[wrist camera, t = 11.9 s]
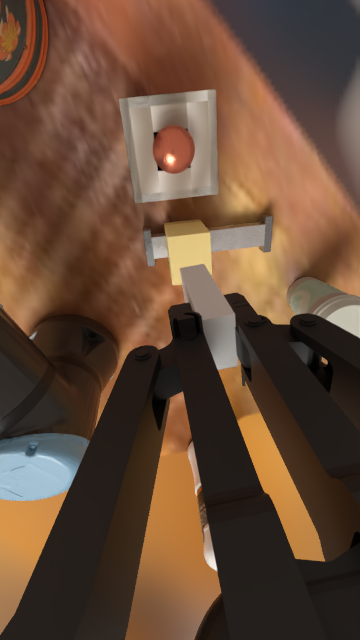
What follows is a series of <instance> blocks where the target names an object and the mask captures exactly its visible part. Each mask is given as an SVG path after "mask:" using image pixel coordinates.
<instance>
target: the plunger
mask: <svg viewBox="0 0 360 640" xmlns="http://www.w3.org/2000/svg"><path fill="white" fill-rule="evenodd" d="M194 153H195V146H194V141H193V139H192V137H191V135H190V133H189V132H188V131H187V130H186V129H184V128H183V127H181V126H178V125H169V126H166V127H164V128H163V129H161V130H160V131H159V132H158V134H157V135H156V137H155V139H154V142H153V156H154V159H155V162H156V163H157V165H158V166H159V167H160V168H161V169H162V170H163V171H165V172H167V173H171V174H177V173H181V172H183V171H184V170H186V169H187V168H188V167H189V166H190V164H191V163H192V161H193V158H194Z"/></svg>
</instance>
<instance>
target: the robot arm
mask: <svg viewBox="0 0 360 640" xmlns="http://www.w3.org/2000/svg"><path fill="white" fill-rule="evenodd" d="M180 274H181V280H182V286H183V292H184V299H185V303H184V304H179V305H173V306H171V307H170V309H169V310H168V314H169V319H170V326H171V331H172V336H173V339H172V341H171V343H170V344H169V345H167V346H166V347H164V348H162V349H160V350H158V349H157V348H156V347H154V346H148V345H145V346H140V347H137V348H135V349H133V350H132V351H131V352H129V354H128V355H127V357H126V359H125V362H124V364H123V366H122V368H121V371H120V373H119V375H118V378H117V380H116V382H115V385H114V387H113V389H112V391H111V394H110V396H109V398H108V401H107V403H106V405H105V408H104V410H103V412H102V414H101V417H100V419H99V421H98V424H97V426H96V428H95V425H96V419H97V414H98V408H99V402H100V396H101V392H102V391H103V390H104V388H105V387H106V385H107V384H108V382H109V381H110V380H111V379H112V377H113V375H114V374H115V371H116V368H117V364H118V356H119V352H118V347H117V344H116V341H115V339H114V338H113V336H112V335H111V333H110V332H109V331H108V330H107V329H106V328H105V327H103V326H102V325H100V324H99V323H97V322H95V321H93V320H91V319H89V318H86V317H82V316H77V315H59V316H54V317H51V318H49V319H46V320H44V321H43V322H41V323H40V324H38V325H37V326H36V327H35V328H34V329H33V331H32V332H31V334H30V335H29V337H28V336H27V335H26V334H25V333H24V332H23V330H22V329H21V328H20V327H19V326H18V325H17V324H16V323H15V322H14V320H13V319H12V318H11V317H10V316H9V315H8V314H7V313H6V311H5V310H4V309H3V306H2V305H1V304H0V499H4V500H12V501H30V500H38V499H44V498H49V497H52V496H55V495H58V494H60V493H62V492H65V491H66V490H68V489H69V491H68V493H67V495H66V498H65V500H64V502H63V504H62V507H61V509H60V511H59V514H58V516H57V518H56V520H55V523H54V525H53V527H52V530H51V532H50V534H49V537H48V539H47V541H46V543H45V546H44V548H43V550H42V553H41V555H40V557H39V560H38V562H37V564H36V567H35V569H34V571H33V573H32V576H31V578H30V580H29V583H28V585H27V587H26V589H25V592H24V594H23V597H22V599H21V601H20V603H19V606H18V608H17V610H16V613H15V615H14V616H13V617H12V619H11V620H10V622H9V623H8V625H7V626H6V628H5V629H4V631H3V632H2V634H1V635H0V640H125V636H126V632H127V627H128V622H129V617H130V611H131V606H132V601H133V596H134V590H135V585H136V579H137V574H138V569H139V564H140V558H141V553H142V547H143V542H144V537H145V531H146V526H147V521H148V516H149V511H150V504H151V500H152V495H153V489H154V484H155V479H156V474H157V468H158V463H159V458H160V452H161V447H162V442H163V436H164V431H165V426H166V420H167V415H168V410H169V405H170V397H172V396H174V395H176V394H178V393H180V392H182V391H183V393H184V398H185V404H186V409H187V414H188V419H189V425H190V430H191V435H192V440H193V445H194V451H195V456H196V461H197V466H198V472H199V477H200V482H201V487H202V492H203V498H204V503H205V509H206V514H207V519H208V524H209V530H210V535H211V540H212V545H213V551H214V556H215V561H216V566H217V572H218V577H219V582H220V587H221V592H222V593H221V594H220V595H219V596H218V597H217V598H216V600H215V601H214V602H213V603H212V605H211V607H210V608H209V610H208V611H207V613H206V614H205V616H204V618H203V620H202V622H201V624H200V626H199V629H198V631H197V634H196V636H195V640H360V338H359V337H357V336H355V335H353V334H352V333H350V332H348V331H346V330H344V329H342V328H341V327H339V326H337V325H335V324H333V323H331V322H330V321H328V320H326V319H324V318H322V317H320V316H318V315H315V314H310V313H306V314H305V313H303V314H298V315H295V316H293V317H292V318H291V320H290V325H277V324H273V323H272V322H271V321H270V320H269V319H268V318H267V317H265V316H262V315H258V314H257V313H256V312H255V311H254V309H253V308H252V307H251V305H250V304H249V303H248V301H247V300H246V299H245V297H244V296H243V295H240V294H238V293H232V294H227V295H223V294H222V292H221V290H220V289H219V287H218V286H217V284H216V282H215V281H214V279H213V277H212V276H211V274H210V273H209V271H208V269H207V268H206V266H205V265H204V264H199V265H194V266H188V267H183V268H180ZM322 357H323V358H325V359H326V360H327V361H328V364H327V365H326V364H324V363H323V362H321V360H322ZM238 358H239V360H240V362H241V372H242V385H243V386H245V381H246V383H247V385H248V387H249V389H250V391H251V393H252V395H253V397H254V400H255V402H256V404H257V406H258V408H259V410H260V412H261V414H262V416H263V419H264V421H265V423H266V425H267V427H268V429H269V431H270V433H271V435H272V437H273V439H274V442H275V444H276V446H277V448H278V450H279V452H280V454H281V457H282V459H283V461H284V463H285V465H286V467H287V469H288V471H289V473H290V476H291V478H292V480H293V482H294V484H295V486H296V488H297V490H298V492H299V494H300V497H301V499H302V501H303V503H304V505H305V507H306V509H307V511H308V513H309V516H310V518H311V520H312V522H313V524H314V526H315V528H316V530H317V533H318V535H319V539H320V542H321V547H322V552H323V555H324V558H325V562H322V561H311V560H301V559H295V557H294V554H293V552H292V549H291V547H290V544H289V542H288V539H287V537H286V534H285V531H284V529H283V526H282V524H281V521H280V519H279V516H278V514H277V511H276V509H275V506H274V504H273V502H272V500H271V498H270V496H269V495H268V494H267V493H265V492H264V491H263V489H262V486H261V484H260V481H259V479H258V476H257V473H256V471H255V468H254V465H253V463H252V460H251V457H250V455H249V452H248V449H247V447H246V444H245V441H244V439H243V436H242V433H241V431H240V428H239V426H238V423H237V420H236V417H235V415H234V412H233V409H232V407H231V404H230V401H229V399H228V396H227V393H226V391H225V388H224V385H223V383H222V380H221V377H220V375H219V372H218V370H221V369H226V368H230V367H235V366H238Z"/></svg>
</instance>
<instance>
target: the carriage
mask: <svg viewBox="0 0 360 640" xmlns="http://www.w3.org/2000/svg"><path fill="white" fill-rule="evenodd" d="M164 229H165V235H166V243H167V252H168V263H169V269H170V274H171V279H172V285H180V284H182V280H181V274H180V268H183V267H188V266H194V265H199V264H204V265H205V266H206V268H207V269H208V271H209V273H210V274H211V276H212V267H211V241H210V231H209V230H208V229H207V228H206V226H205V225H204V224H203V223H202V221H200V220H199V219H195V220H186V221H177V222H169V223H164Z"/></svg>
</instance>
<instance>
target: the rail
mask: <svg viewBox="0 0 360 640" xmlns="http://www.w3.org/2000/svg"><path fill="white" fill-rule="evenodd" d="M272 221H273V216H272V215H270V214H261V222H252V223H244V224H235V225H227V226H218V227H209V228H207V229H208V230H209V231H210V241H211V252H215V251H224V250H232V249H241V248H249V247H257V246H259V249H260V250H261V251H263V252H270V251H271V236H272ZM143 235H144V242H145V248H146V255H147V262H148V266H155V259H157V258H165V257H168V252H167V243H166V235H165V233H158V234H151V230H150V227H147V228H143Z"/></svg>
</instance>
